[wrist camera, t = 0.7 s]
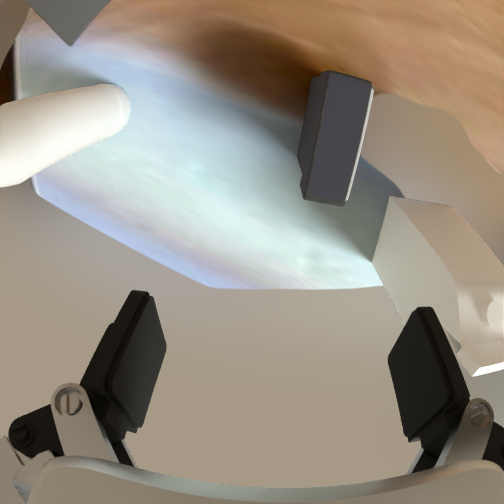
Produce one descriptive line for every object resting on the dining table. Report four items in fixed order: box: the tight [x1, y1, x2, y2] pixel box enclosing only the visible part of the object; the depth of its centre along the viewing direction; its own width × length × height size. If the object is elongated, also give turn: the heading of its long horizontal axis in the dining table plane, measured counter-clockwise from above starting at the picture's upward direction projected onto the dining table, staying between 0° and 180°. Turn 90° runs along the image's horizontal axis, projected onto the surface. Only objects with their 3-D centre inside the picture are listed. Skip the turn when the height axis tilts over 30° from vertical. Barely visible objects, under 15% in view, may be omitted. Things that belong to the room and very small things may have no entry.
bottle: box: [0, 84, 131, 187], centre depth 21 cm, size 8×8×30 cm
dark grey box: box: [297, 70, 374, 206], centre depth 27 cm, size 11×4×15 cm, turn 173°
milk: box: [372, 196, 504, 376], centre depth 30 cm, size 12×12×26 cm
